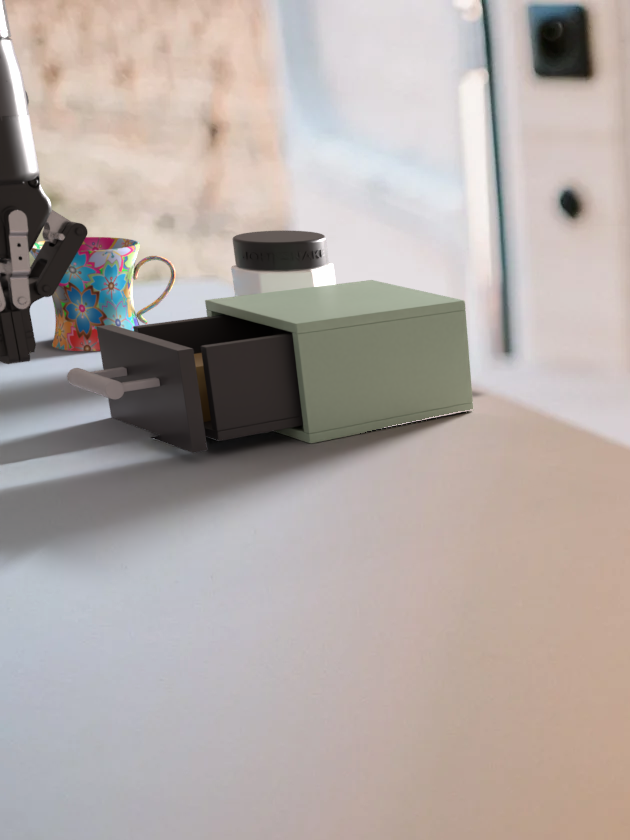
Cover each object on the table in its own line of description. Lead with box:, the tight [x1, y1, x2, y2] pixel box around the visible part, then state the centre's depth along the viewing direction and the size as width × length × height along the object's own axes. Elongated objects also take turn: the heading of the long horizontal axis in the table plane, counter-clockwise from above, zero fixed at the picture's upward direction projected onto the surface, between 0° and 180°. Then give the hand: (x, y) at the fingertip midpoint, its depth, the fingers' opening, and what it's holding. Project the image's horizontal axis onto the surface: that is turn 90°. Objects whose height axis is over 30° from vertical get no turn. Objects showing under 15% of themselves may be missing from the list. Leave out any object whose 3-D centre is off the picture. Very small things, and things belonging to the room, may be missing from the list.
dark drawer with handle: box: [66, 314, 303, 454], centre depth 128 cm, size 19×12×8 cm, turn 142°
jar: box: [230, 230, 337, 297], centre depth 152 cm, size 9×8×12 cm
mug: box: [29, 236, 176, 352], centre depth 153 cm, size 12×9×11 cm
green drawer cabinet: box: [204, 279, 474, 444], centre depth 136 cm, size 16×14×10 cm
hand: (13, 361), depth 116 cm, fingers closed
